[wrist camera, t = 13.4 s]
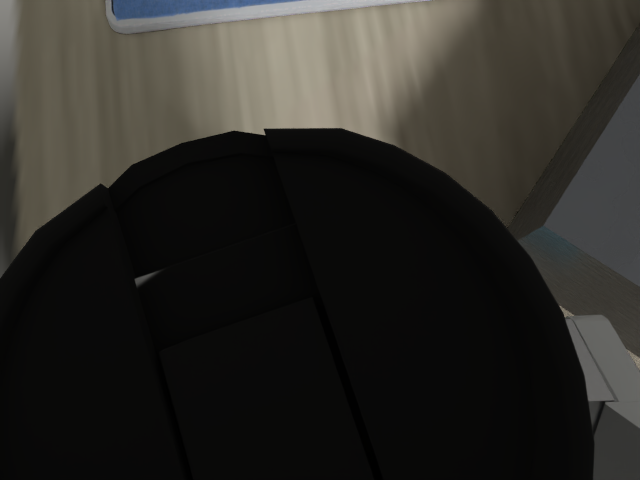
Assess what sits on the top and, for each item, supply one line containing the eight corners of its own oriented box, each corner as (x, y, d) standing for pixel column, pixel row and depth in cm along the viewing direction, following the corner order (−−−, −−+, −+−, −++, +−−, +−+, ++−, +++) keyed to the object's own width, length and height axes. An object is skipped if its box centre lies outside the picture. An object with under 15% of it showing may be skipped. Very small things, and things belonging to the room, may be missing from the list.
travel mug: (272, 460, 24) (-11, 1037, 4) (224, 305, 25) (-185, 204, 5) (417, 409, 24) (781, 743, 4) (363, 258, 25) (465, -11, 6)
